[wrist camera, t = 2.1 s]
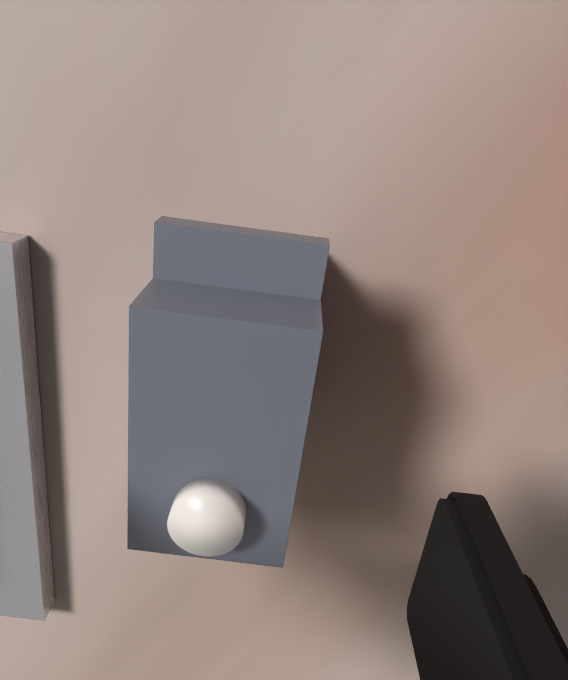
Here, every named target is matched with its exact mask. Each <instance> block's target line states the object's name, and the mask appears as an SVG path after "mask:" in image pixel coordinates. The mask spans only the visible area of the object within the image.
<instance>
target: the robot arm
mask: <svg viewBox="0 0 568 680" xmlns="http://www.w3.org/2000/svg"><path fill="white" fill-rule="evenodd" d="M407 620H408V625H409V630H410V635H411V639H412V644H413V648H414V653H415V657H416V662H417V667H418V671H419V676H420V680H568V649H567V647H566V645H565V643H564V641H563V639H562V637H561V635H560V633H559V631H558V629H557V627H556V625H555V623H554V621H553V619H552V617H551V615H550V613H549V611H548V609H547V607H546V605H545V603H544V601H543V599H542V597H541V595H540V593H539V591H538V589H537V587H536V586H535V584H534V583H533V581H532V580H531V578H529V577H528V576H527V575H525V574H523V573H522V571H521V569H520V567H519V565H518V563H517V561H516V559H515V557H514V555H513V553H512V551H511V549H510V547H509V545H508V543H507V541H506V539H505V537H504V535H503V533H502V531H501V529H500V527H499V525H498V523H497V521H496V519H495V517H494V515H493V513H492V511H491V509H490V506H489V504H488V502H487V500H486V499H485V498H484V496H482V495H476V494H467V493H459V492H451V493H450V494H449V495H448V497H447V499H440V500H439V501H438V503H437V506H436V509H435V512H434V516H433V519H432V522H431V526H430V529H429V533H428V536H427V539H426V543H425V546H424V549H423V553H422V556H421V559H420V563H419V566H418V569H417V573H416V576H415V579H414V583H413V586H412V589H411V593H410V596H409V599H408V604H407Z"/></svg>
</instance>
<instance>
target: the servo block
mask: <svg viewBox="0 0 568 680" xmlns="http://www.w3.org/2000/svg"><path fill="white" fill-rule="evenodd" d="M329 246H330V245H329V239H328V238H321V237H313V236H306V235H298V234H291V233H283V232H276V231H268V230H261V229H253V228H246V227H238V226H231V225H223V224H216V223H208V222H201V221H193V220H186V219H178V218H171V217H163V216H161V217H160V218H159V219H158V220H156V221H155V223H154V262H153V279H152V280H151V281H150V282H149V284H148V285H147V286H146V287H145V288H144V289H143V291H142V292H141V293H140V294H139V295H138V296H137V298H136V299H135V300H134V301H133V302H132V304H131V305H130V306H129V405H128V549H133V550H141V551H149V552H157V553H166V554H174V555H182V556H191V557H199V558H207V559H215V560H224V561H232V562H240V563H249V564H257V565H265V566H273V567H282V568H283V564H284V558H285V552H286V546H287V541H288V535H289V529H290V523H291V517H292V511H293V506H294V500H295V494H296V488H297V482H298V476H299V470H300V465H301V459H302V453H303V447H304V441H305V435H306V430H307V424H308V418H309V412H310V406H311V400H312V394H313V389H314V383H315V377H316V371H317V365H318V359H319V354H320V348H321V342H322V336H323V322H322V310H321V295H322V289H323V283H324V277H325V271H326V265H327V259H328V253H329Z"/></svg>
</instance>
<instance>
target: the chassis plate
mask: <svg viewBox="0 0 568 680" xmlns="http://www.w3.org/2000/svg"><path fill="white" fill-rule="evenodd" d="M54 601H55V597H54V583H53V569H52V556H51V542H50V528H49V515H48V501H47V488H46V474H45V460H44V447H43V433H42V420H41V406H40V392H39V379H38V365H37V352H36V338H35V324H34V311H33V297H32V284H31V270H30V256H29V243H28V235H21V234H14V233H6V232H0V616H8V617H17V618H25V619H34V620H42V621H45V619H46V617H47V615H48V613H49V611H50V609H51V607H52V605H53V603H54Z"/></svg>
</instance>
